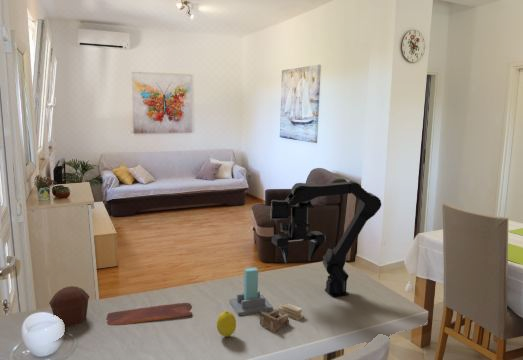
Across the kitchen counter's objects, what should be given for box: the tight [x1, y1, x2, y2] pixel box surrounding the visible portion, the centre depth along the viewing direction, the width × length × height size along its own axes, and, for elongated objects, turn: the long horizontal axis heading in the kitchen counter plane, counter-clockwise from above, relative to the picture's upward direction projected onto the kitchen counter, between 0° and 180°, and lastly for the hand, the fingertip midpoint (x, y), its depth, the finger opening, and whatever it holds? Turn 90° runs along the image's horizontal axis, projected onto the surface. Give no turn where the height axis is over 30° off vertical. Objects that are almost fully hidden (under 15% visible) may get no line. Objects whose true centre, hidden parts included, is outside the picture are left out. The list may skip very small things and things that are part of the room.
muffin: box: [48, 285, 90, 328], centre depth 130 cm, size 12×11×10 cm
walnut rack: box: [259, 308, 290, 333], centre depth 129 cm, size 7×6×4 cm
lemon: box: [216, 310, 237, 338], centre depth 122 cm, size 6×6×8 cm
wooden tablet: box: [106, 302, 194, 326], centre depth 135 cm, size 27×10×2 cm, turn 105°
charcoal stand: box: [229, 290, 274, 316], centre depth 141 cm, size 12×10×4 cm
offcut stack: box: [278, 302, 304, 321], centre depth 136 cm, size 3×8×3 cm, turn 51°
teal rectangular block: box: [243, 267, 259, 300], centre depth 140 cm, size 4×2×12 cm, turn 110°
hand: (297, 261), depth 150 cm, fingers open, 9 cm apart
